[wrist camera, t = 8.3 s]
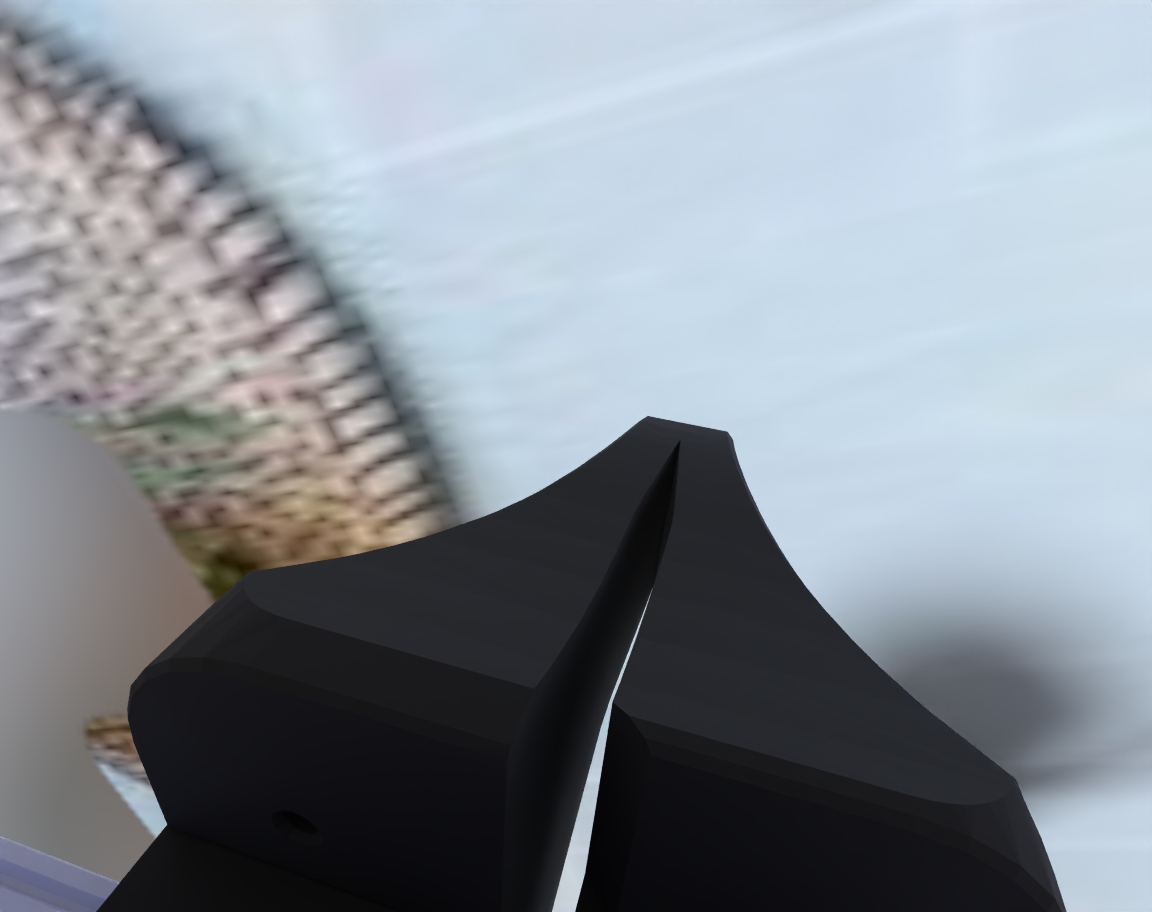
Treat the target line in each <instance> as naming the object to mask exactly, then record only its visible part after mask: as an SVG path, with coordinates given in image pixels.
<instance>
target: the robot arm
mask: <svg viewBox="0 0 1152 912" xmlns="http://www.w3.org/2000/svg"><path fill="white" fill-rule="evenodd" d="M653 585H654V586H653ZM652 588H653V589H652ZM651 591H652V592H651ZM650 593H651V595H650ZM649 596H650V598H649ZM648 599H649V601H648ZM647 601H648V604H647ZM646 604H647V607H646ZM645 607H646V610H645V613H644V616H643V619H642V622H641V625H640V628H639V631H638V634H637V637H636V640H635V643H634V646H633V648H632V651H631V654H630V657H629V660H628V662H627V665H626V668H625V671H624V673H623V676H622V679H621V682H620V684H619V687H618V689H617V692H616V695H615V697H614V700H613V703H612V709H611V715H610V722H609V728H608V734H607V740H606V747H605V753H604V759H603V766H602V772H601V778H600V784H599V791H598V797H597V803H596V809H595V816H594V822H593V828H592V834H591V841H590V847H589V853H588V859H587V866H586V872H585V876H584V880H583V884H582V888H581V892H580V895H579V899H578V903H577V907H576V911H575V912H1066V909H1065V906H1064V903H1063V899H1062V896H1061V893H1060V890H1059V887H1058V884H1057V880H1056V877H1055V874H1054V871H1053V869H1052V866H1051V863H1050V860H1049V858H1048V855H1047V852H1046V850H1045V847H1044V844H1043V842H1042V839H1041V836H1040V834H1039V832H1038V830H1037V828H1036V825H1035V823H1034V821H1033V819H1032V817H1031V814H1030V812H1029V810H1028V808H1027V806H1026V803H1025V801H1024V799H1023V796H1022V794H1021V791H1020V788H1019V786H1018V783H1017V781H1016V779H1015V778H1013V777H1012V776H1011V775H1010V774H1008V773H1007V772H1006V771H1005V770H1003V769H1002V768H1001V767H999V766H998V765H997V764H996V763H994V762H993V761H992V760H990V759H989V758H988V757H987V756H985V755H984V754H983V753H982V752H980V751H979V750H978V749H976V748H975V747H974V746H973V745H971V744H970V743H969V742H968V741H966V740H965V739H964V738H962V737H961V736H960V735H959V734H957V733H956V732H955V731H953V730H952V729H951V728H950V727H948V726H947V725H946V724H945V723H943V722H942V721H941V720H939V719H938V718H937V717H936V716H934V715H933V714H932V713H931V712H929V711H928V710H927V709H926V708H925V707H923V706H922V705H921V704H920V703H919V702H918V701H916V700H915V699H914V698H913V697H912V696H911V695H910V694H909V693H908V692H907V691H905V690H904V689H903V688H902V687H901V686H900V685H899V684H898V683H897V682H896V681H894V680H893V679H892V678H891V677H890V676H889V675H888V674H887V673H886V672H884V671H883V670H882V669H881V668H880V667H879V666H878V665H877V664H876V663H875V662H874V661H873V660H872V659H871V658H870V657H869V656H868V655H867V654H866V653H865V652H864V651H863V650H862V649H861V648H860V647H859V646H858V645H857V644H856V643H855V642H854V641H853V640H852V639H851V638H850V637H849V636H848V635H847V634H846V632H845V631H844V630H843V629H842V628H841V627H840V626H839V625H838V624H837V623H836V622H835V620H834V619H833V618H832V617H831V616H830V615H829V614H828V613H827V612H826V611H825V609H824V608H823V607H822V606H821V605H820V603H819V602H818V601H817V600H816V599H815V597H814V596H813V595H812V594H811V593H810V591H809V590H808V589H807V588H806V586H805V585H804V583H803V582H802V581H801V579H800V578H799V577H798V575H797V574H796V572H795V571H794V570H793V568H792V567H791V565H790V564H789V562H788V561H787V559H786V557H785V556H784V554H783V553H782V551H781V549H780V548H779V546H778V544H777V543H776V541H775V539H774V537H773V536H772V534H771V532H770V531H769V529H768V527H767V525H766V523H765V521H764V519H763V518H762V516H761V514H760V512H759V510H758V507H757V505H756V503H755V501H754V499H753V497H752V495H751V492H750V490H749V488H748V486H747V483H746V481H745V478H744V476H743V473H742V470H741V468H740V465H739V462H738V459H737V456H736V452H735V448H734V443H733V439H732V438H731V436H730V435H729V433H728V432H726V431H721V430H716V429H711V428H706V427H701V426H695V425H690V424H685V423H680V422H675V421H670V420H665V419H660V418H655V417H650V416H647V417H645V418H644V419H642V420H641V421H639V422H638V423H637V424H635V425H634V426H633V427H632V428H631V429H629V430H628V431H627V432H626V433H624V434H623V435H622V436H621V437H619V438H618V439H617V440H615V441H614V442H613V443H612V444H610V445H609V446H608V447H606V448H605V449H604V450H602V451H601V452H599V453H598V454H597V455H595V456H594V457H592V458H591V459H590V460H588V461H587V462H585V463H584V464H582V465H581V466H580V467H578V468H577V469H575V470H574V471H572V472H570V473H569V474H567V475H565V476H564V477H562V478H560V479H559V480H557V481H556V482H554V483H552V484H551V485H549V486H547V487H546V488H544V489H542V490H541V491H539V492H537V493H535V494H533V495H531V496H529V497H527V498H525V499H523V500H521V501H519V502H517V503H514V504H512V505H510V506H508V507H506V508H503V509H501V510H499V511H497V512H494V513H492V514H489V515H487V516H484V517H482V518H479V519H476V520H473V521H470V522H467V523H465V524H462V525H459V526H456V527H453V528H450V529H448V530H445V531H442V532H439V533H436V534H433V535H430V536H427V537H423V538H420V539H416V540H413V541H409V542H405V543H402V544H398V545H394V546H390V547H386V548H382V549H377V550H373V551H369V552H365V553H360V554H355V555H351V556H346V557H341V558H335V559H329V560H323V561H317V562H311V563H304V564H298V565H292V566H286V567H280V568H274V569H267V570H259V571H251V572H249V573H247V574H246V575H245V576H244V577H243V578H242V579H240V580H239V581H238V582H237V583H236V584H235V585H234V586H232V587H231V588H230V589H229V590H228V591H227V592H226V593H225V594H224V595H223V596H222V597H220V598H219V599H218V600H217V601H216V602H215V603H214V604H213V605H212V606H211V607H210V608H209V609H207V610H206V611H205V612H204V613H203V614H202V615H201V616H200V617H199V618H198V619H197V620H196V621H195V622H194V623H193V624H192V625H191V626H189V627H188V628H187V629H186V630H185V631H184V632H183V633H182V634H181V635H180V636H179V637H178V638H177V639H176V640H175V641H174V642H172V643H171V645H169V646H168V647H167V648H166V649H165V650H164V651H163V652H162V653H161V654H160V655H159V656H158V657H157V658H156V659H154V660H153V661H152V662H151V663H150V664H149V665H148V666H147V667H146V668H145V669H144V670H143V671H142V673H141V674H140V675H139V676H138V678H137V679H136V680H135V681H134V683H133V684H132V685H131V688H130V696H129V701H128V708H127V710H128V721H129V725H130V729H131V733H132V737H133V741H134V744H135V747H136V749H137V752H138V754H139V757H140V759H141V762H142V764H143V766H144V769H145V771H146V774H147V776H148V779H149V781H150V783H151V786H152V788H153V791H154V793H155V796H156V798H157V801H158V803H159V805H160V808H161V810H162V813H163V815H164V818H165V820H166V822H167V826H166V827H165V828H164V829H163V831H162V832H161V833H160V834H159V835H158V837H157V838H156V839H155V840H154V842H153V843H152V844H151V845H150V846H149V848H148V849H147V850H146V851H145V853H144V854H143V855H142V856H141V858H140V859H139V860H138V861H137V862H136V864H135V865H134V866H133V867H132V868H131V870H130V871H129V872H128V873H127V875H126V876H125V877H124V878H123V879H122V881H121V882H117V881H115V880H112V879H110V878H107V877H104V876H102V875H99V874H97V873H94V872H92V871H89V870H86V869H84V868H81V867H79V866H76V865H73V864H71V863H68V862H66V861H63V860H60V859H58V858H55V857H53V856H50V855H48V854H45V853H43V852H40V851H38V850H35V849H32V848H30V847H27V846H25V845H22V844H19V843H17V842H14V841H12V840H9V839H6V838H4V837H1V836H0V912H552V909H553V905H554V901H555V898H556V894H557V890H558V886H559V882H560V878H561V874H562V871H563V867H564V863H565V859H566V855H567V852H568V848H569V844H570V840H571V836H572V833H573V829H574V825H575V821H576V818H577V814H578V810H579V806H580V803H581V799H582V795H583V791H584V787H585V784H586V780H587V776H588V773H589V769H590V765H591V762H592V758H593V754H594V751H595V747H596V743H597V739H598V736H599V732H600V728H601V725H602V722H603V719H604V716H605V713H606V710H607V707H608V704H609V701H610V698H611V695H612V693H613V690H614V688H615V685H616V682H617V680H618V677H619V675H620V672H621V669H622V667H623V664H624V662H625V659H626V656H627V654H628V651H629V649H630V646H631V643H632V641H633V638H634V635H635V633H636V630H637V628H638V625H639V622H640V620H641V617H642V615H643V612H644V609H645Z"/></svg>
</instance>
